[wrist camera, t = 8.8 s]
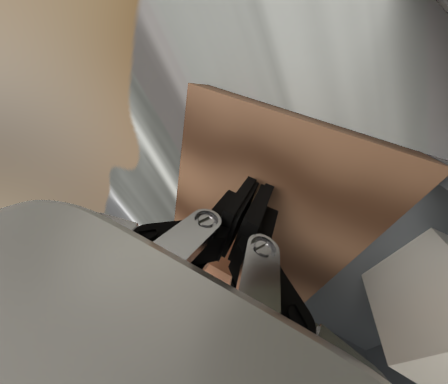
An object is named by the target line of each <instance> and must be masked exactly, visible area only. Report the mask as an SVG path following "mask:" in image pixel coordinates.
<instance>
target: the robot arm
mask: <svg viewBox="0 0 448 384" xmlns="http://www.w3.org/2000/svg"><path fill="white" fill-rule="evenodd" d="M256 181H257V179H254V178H252V177H249V176H248V177H247V179H246V180H245V181H244V183H243V184H242V185H241V187H240V188H239V189H238V191H237V192H236V193H235V192H233V191H231V190H228V191H227V192H226V193H225V194H224V195H223V197H222V198H221V199H220V200H219V201H218V203H217V204H216V205H215V206H214V207H213V208H212V210H210V209H198V210H196V211H195V212H193V213H192V214H190V215H189V216H188V217H186V218H185V219H183V220H179V221H170V222H161V223H152V224H145V225H141V226H138V223H136V222H132V221H129V220H125V219H122V218H118V217H115V216H111V215H108V214H104V213H98V212H95V211H92V210H89V209H87V208H84V207H81V206H78V205H74V204H70V203H66V202H59V201H51V200H33V201H26V202H21V203H18V204H14V205H11V206H7V207H4V208H1V209H0V384H392V383H390V382H389V381H388V380H387V378H386V377H385V375H384V374H383V373H382V372H381V371H380V370H379V369H378V368H377V367H376V366H374V365H373V364H372V363H371V362H369V361H368V360H367V359H365V358H364V357H363V356H362V355H360V354H359V353H358V352H357V351H355V350H354V349H353V348H352V347H350V346H349V345H348V344H347V343H345V342H344V341H343V340H342V339H340V338H339V337H338V336H337V335H335V334H334V333H333V332H331V331H330V330H329V329H328V328H326V327H325V326H324V325H323V324H320V325H318V324H317V323H316V322H315V321H314V318H313V317H312V315H311V313H310V311H309V310H308V308H307V306H306V305H305V303H304V302H303V300H302V299H301V297H300V296H299V294H298V293H297V291H296V290H295V288H294V287H293V285H292V284H291V282H290V280H289V279H288V277H287V276H286V274H285V273H284V271H283V270H282V268H281V267H280V250H279V247H278V245H277V244H276V242H275V241H274V240H273V239H272V235H273V231H274V227H275V223H276V219H277V216H278V211H277V210H275V209H273V208H270V207H268V206H267V205H268V202H269V200H270V197H271V194H272V191H273V189H274V186H272V185H269V184H267V183H266V184H265V185H263V184H261V186H260V188H259V190H258V192H257V194H256V195H255V192H256V190H257V187H258V185H259V183H258V182H256ZM254 195H255V197H254ZM253 197H254V199H253ZM252 200H253V201H252ZM251 202H252V203H251ZM236 235H237V236H236ZM235 237H236V239H235ZM234 239H235V241H234ZM233 241H234V244H233V246H232V249H231V252H230V254H229V257H228V260H229V261H230V264H229V266H228V268H229V270H230V272H231V275H232V277H231V279H230V283H229V284H227V283H225V282H223V281H222V280H220V279H218V278H216V277H214V276H213V275H211V274H209V273H207V272H206V271H205V269H206V268H207V267H208V265H209V264H210V262H214V261H218V262H219V260H220V258H221V256H222V257H224V258H225V257H226V255H227V253H228V251H229V249H230V247H231V245H232V243H233Z"/></svg>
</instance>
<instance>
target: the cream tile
mask: <svg viewBox="0 0 448 384" xmlns="http://www.w3.org/2000/svg"><path fill="white" fill-rule="evenodd" d="M361 276H362V279H363V283H364V286H365V290H366V293H367V296H368V300H369V303H370V307H371V310H372V313H373V317H374V320H375V324H376V327H377V330H378V334H379V337H380V340H381V344H382V347H383V351H384V354H385V357H386V361H387V364H388V366H389V367H390V368H392V369H394V370H395V371H397V372H399V373H400V374H402V375H404V376H405V377H407V378H409V379H410V380H412V381H414V382H415V383H417V384H448V235H447V234H445V233H442V232H440V231H438V230H436V229H433V228H430V229H428V230H427V231H425V232H424V233H422V234H421V235H419V236H418V237H416V238H415V239H414V240H412V241H411V242H409V243H408V244H406V245H405V246H403V247H402V248H400V249H399V250H397V251H396V252H394V253H393V254H391V255H390V256H388V257H387V258H385V259H384V260H382V261H381V262H380V263H378V264H377V265H375V266H374V267H372V268H371V269H369V270H368V271H366V272H365V273H363V274H362V275H361Z"/></svg>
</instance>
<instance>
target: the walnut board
mask: <svg viewBox="0 0 448 384" xmlns="http://www.w3.org/2000/svg"><path fill="white" fill-rule="evenodd" d="M248 176H249V177H252V178H254V179H257V181H256V182H258V183H259V185H258V187H257V190H256V192H255V195H256V194H257V192H258V190H259V188H260V186H261V184H263V185H265V184H266V183H267V184H269V185H272V186H274V189H273V191H272V194H271V197H270V200H269V202H268V205H267V206H268V207H270V208H273V209H275V210H277V211H278V216H277V219H276V223H275V227H274V231H273V235H272V239H273V240H274V241H275V242H276V244H277V245H278V247H279V250H280V267H281V268H282V270H283V271H284V273H285V274H286V276H287V277H288V279H289V280H290V282H291V284H292V285H293V287H294V288H295V290H296V291H297V293H298V294H299V296H300V297H301V299H302V300H303V302H304V303H305V302H306V301H307V300H308V299H309V298H310V297H311V296H313V295H314V294H315V293H316V292H317V291H318V290H319V289H320V288H322V287H323V286H324V285H325V284H326V283H327V282H328V281H329V280H331V279H332V278H333V277H334V276H335V275H336V274H337V273H339V272H340V271H341V270H342V269H343V268H344V267H345V266H346V265H348V264H349V263H350V262H351V261H352V260H353V259H354V258H355V257H357V256H358V255H359V254H360V253H361V252H362V251H363V250H365V249H366V248H367V247H368V246H369V245H370V244H371V243H372V242H374V241H375V240H376V239H377V238H378V237H379V236H380V235H381V234H383V233H384V232H385V231H386V230H387V229H388V228H389V227H391V226H392V225H393V224H394V223H395V222H396V221H397V220H398V219H400V218H401V217H402V216H403V215H404V214H405V213H406V212H407V211H409V210H410V209H411V208H412V207H413V206H414V205H415V204H417V203H418V202H419V201H420V200H421V199H422V198H423V197H424V196H426V195H427V194H428V193H429V192H430V191H431V190H432V189H433V188H435V187H436V186H437V185H438V184H439V183H440V182H441V181H443V180H444V179H445V178H446V177H447V176H448V165H446V164H444V163H442V162H440V161H438V160H436V159H434V158H432V157H430V156H428V155H426V154H424V153H421V152H418V151H415V150H412V149H409V148H406V147H402V146H399V145H396V144H393V143H390V142H387V141H384V140H380V139H377V138H374V137H371V136H368V135H365V134H361V133H358V132H355V131H352V130H349V129H346V128H342V127H339V126H336V125H333V124H330V123H327V122H324V121H320V120H317V119H314V118H311V117H308V116H305V115H301V114H298V113H295V112H292V111H289V110H286V109H283V108H279V107H276V106H273V105H270V104H267V103H264V102H260V101H257V100H254V99H251V98H248V97H245V96H241V95H238V94H235V93H232V92H229V91H226V90H223V89H219V88H216V87H213V86H210V85H203V84H193V83H188V90H187V100H186V110H185V120H184V130H183V140H182V150H181V160H180V170H179V180H178V190H177V200H176V210H175V220H174V221H179V220H183V219H185V218H186V217H188V216H189V215H190V214H192V213H193V212H195V211H196V210H198V209H210V210H212V208H213V207H214V206H215V205H216V204H217V203H218V201H219V200H220V199H221V198H222V197H223V195H224V194H225V193H226V192H227V191H228V190H231V191H233V192H235V193H236V192H237V191H238V189H239V188H240V187H241V185H242V184H243V183H244V181H245V180H246V179H247V177H248ZM255 195H254V197H255ZM254 197H253V199H254ZM252 201H253V200H252ZM251 203H252V202H251ZM236 236H237V235H236ZM235 239H236V237H235ZM235 239H234V240H235Z"/></svg>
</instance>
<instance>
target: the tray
mask: <svg viewBox="0 0 448 384" xmlns="http://www.w3.org/2000/svg"><path fill="white" fill-rule="evenodd" d="M427 155H428V154H427ZM428 156H430V157H432V158H434V159H436V160H438V161H440V162H442V163H444V164H446V165H448V161H447V160H444V159H440V158H437V157H434V156H431V155H428ZM430 228H433V229H436V230H438V231H440V232H442V233H445V234H447V235H448V176H447V177H446V178H445V179H444V180H443V181H441V182H440V183H439V184H438V185H437V186H436V187H435V188H433V189H432V190H431V191H430V192H429V193H428V194H427V195H426V196H424V197H423V198H422V199H421V200H420V201H419V202H418V203H417V204H415V205H414V206H413V207H412V208H411V209H410V210H409V211H407V212H406V213H405V214H404V215H403V216H402V217H401V218H400V219H398V220H397V221H396V222H395V223H394V224H393V225H392V226H391V227H389V228H388V229H387V230H386V231H385V232H384V233H383V234H381V235H380V236H379V237H378V238H377V239H376V240H375V241H374V242H372V243H371V244H370V245H369V246H368V247H367V248H366V249H365V250H363V251H362V252H361V253H360V254H359V255H358V256H357V257H355V258H354V259H353V260H352V261H351V262H350V263H349V264H348V265H346V266H345V267H344V268H343V269H342V270H341V271H340V272H339V273H337V274H336V275H335V276H334V277H333V278H332V279H331V280H329V281H328V282H327V283H326V284H325V285H324V286H323V287H322V288H320V289H319V290H318V291H317V292H316V293H315V294H314V295H313V296H311V297H310V298H309V299H308V300H307V301H306V302H305V305H306V306H307V308H308V310H309V311H310V313H311V315H312V317H313V318H314V321H315V322H316V323H317V324H318V325H320V324H323V325H324V326H325V327H326V328H328V329H329V330H330V331H331V332H333V333H334V334H335V335H337V336H338V337H339V338H340V339H342V340H343V341H344V342H345V343H347V344H348V345H349V346H350V347H352V348H353V349H354V350H355V351H357V352H358V353H359V354H360V355H362V356H363V357H364V358H365V359H367V360H368V361H369V362H371V363H372V364H373V365H374V366H376V367H377V368H378V369H379V370H380V371H381V372H382V373H383V374H384V375H385V377H386V378H387V380H388V381H389V382H390V383H392V384H417V383H415V382H414V381H412V380H410V379H409V378H407V377H405V376H404V375H402V374H400V373H399V372H397V371H395V370H394V369H392V368H390V367H389V366H388V364H387V361H386V357H385V354H384V351H383V347H382V344H381V340H380V337H379V334H378V330H377V327H376V324H375V320H374V317H373V313H372V310H371V307H370V303H369V300H368V296H367V293H366V290H365V286H364V283H363V279H362V276H361V275H362V274H363V273H365V272H366V271H368V270H369V269H371V268H372V267H374V266H375V265H377V264H378V263H380V262H381V261H382V260H384V259H385V258H387V257H388V256H390V255H391V254H393V253H394V252H396V251H397V250H399V249H400V248H402V247H403V246H405V245H406V244H408V243H409V242H411V241H412V240H414V239H415V238H416V237H418V236H419V235H421V234H422V233H424V232H425V231H427V230H428V229H430Z"/></svg>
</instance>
